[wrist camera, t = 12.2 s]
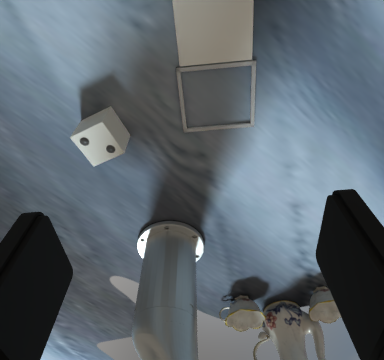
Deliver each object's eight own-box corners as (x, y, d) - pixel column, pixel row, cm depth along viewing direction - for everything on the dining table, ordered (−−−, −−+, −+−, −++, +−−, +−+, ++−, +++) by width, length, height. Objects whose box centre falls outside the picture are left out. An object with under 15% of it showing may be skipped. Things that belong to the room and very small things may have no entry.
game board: (253, 125, 43) (254, 126, 43) (183, 131, 44) (183, 132, 43) (261, -125, 28) (262, -126, 28) (154, -112, 29) (154, -112, 28)
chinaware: (341, 266, 65) (381, 341, 50) (344, 314, 73) (379, 390, 58) (214, 288, 69) (217, 362, 55) (230, 330, 77) (236, 405, 63)
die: (130, 135, 44) (124, 153, 40) (102, 147, 45) (93, 166, 41) (110, 105, 41) (102, 121, 37) (81, 120, 43) (69, 137, 39)
